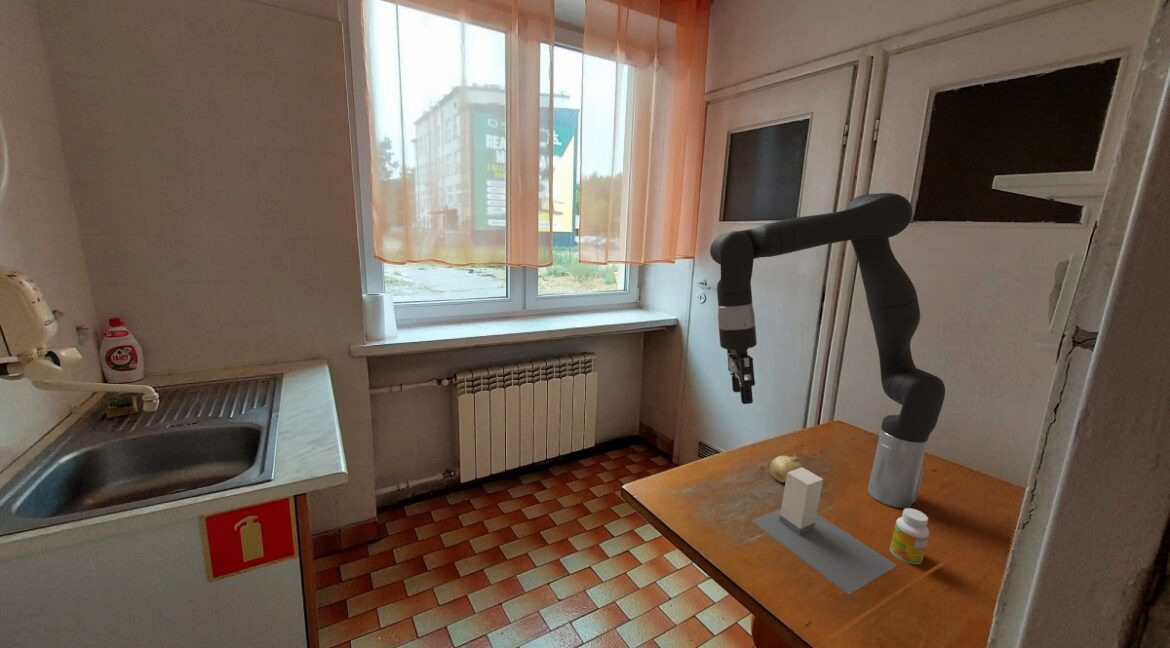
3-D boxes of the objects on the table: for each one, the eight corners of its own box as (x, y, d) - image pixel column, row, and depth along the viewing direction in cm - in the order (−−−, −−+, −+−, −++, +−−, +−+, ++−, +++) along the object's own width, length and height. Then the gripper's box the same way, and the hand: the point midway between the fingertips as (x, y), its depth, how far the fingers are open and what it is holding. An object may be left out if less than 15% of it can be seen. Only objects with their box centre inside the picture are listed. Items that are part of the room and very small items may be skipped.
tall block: (779, 520, 97) (787, 472, 94) (793, 514, 100) (802, 467, 97) (799, 535, 93) (808, 484, 90) (814, 528, 95) (823, 479, 93)
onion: (792, 493, 109) (796, 467, 107) (762, 478, 115) (766, 453, 113) (807, 482, 114) (811, 457, 112) (778, 468, 120) (781, 444, 118)
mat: (750, 522, 97) (750, 520, 97) (797, 503, 105) (797, 501, 104) (848, 597, 78) (849, 594, 78) (897, 567, 86) (897, 565, 86)
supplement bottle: (883, 546, 91) (892, 505, 89) (907, 546, 92) (917, 505, 90) (903, 566, 86) (914, 523, 84) (928, 565, 87) (940, 523, 84)
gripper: (764, 328, 87) (769, 406, 89) (746, 319, 101) (751, 386, 104) (725, 332, 88) (731, 409, 90) (713, 322, 102) (719, 389, 105)
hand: (742, 397), depth 97 cm, fingers open, 8 cm apart
